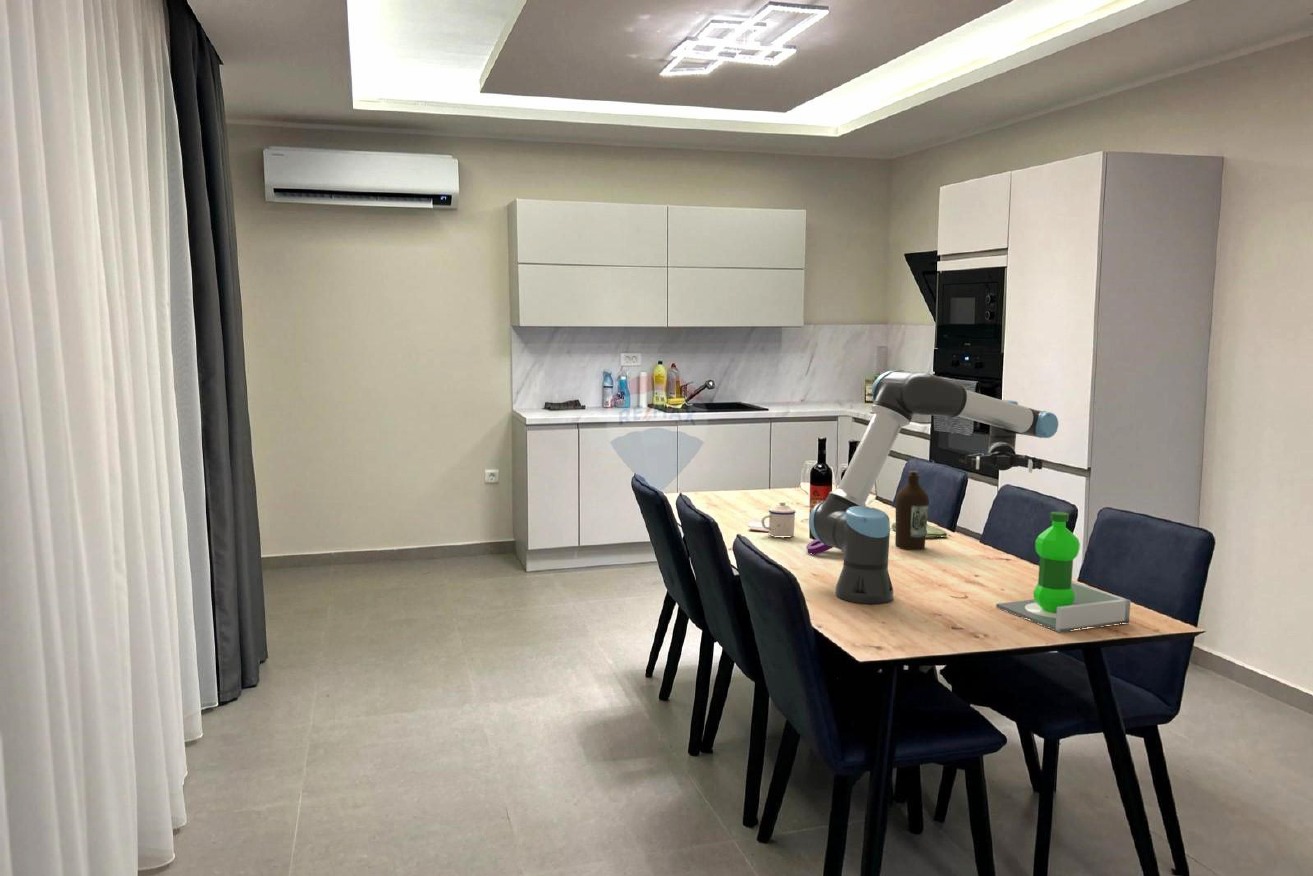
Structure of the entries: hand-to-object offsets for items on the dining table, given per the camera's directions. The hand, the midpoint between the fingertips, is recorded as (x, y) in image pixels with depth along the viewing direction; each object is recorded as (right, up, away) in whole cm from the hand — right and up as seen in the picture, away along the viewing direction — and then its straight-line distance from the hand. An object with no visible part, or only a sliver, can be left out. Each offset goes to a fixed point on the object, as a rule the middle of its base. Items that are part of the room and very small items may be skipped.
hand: (1004, 466), depth 264 cm
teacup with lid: (-53, -26, +70) cm, 91 cm away
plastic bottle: (+7, -36, -16) cm, 40 cm away
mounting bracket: (-37, -30, +46) cm, 66 cm away
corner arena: (+8, -37, -17) cm, 42 cm away
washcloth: (-2, -27, +77) cm, 82 cm away
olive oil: (-11, -28, +56) cm, 64 cm away
